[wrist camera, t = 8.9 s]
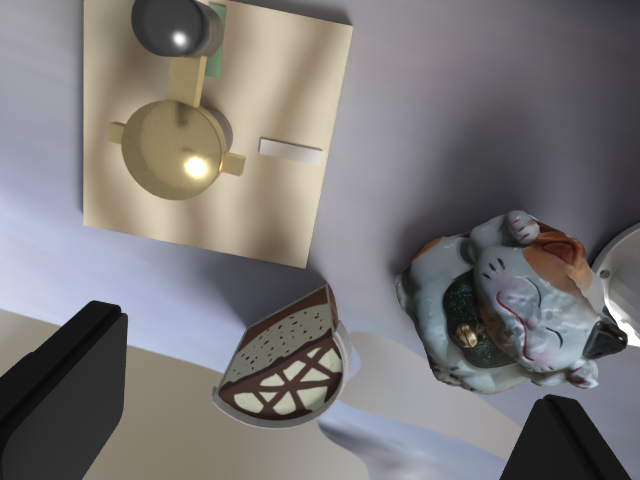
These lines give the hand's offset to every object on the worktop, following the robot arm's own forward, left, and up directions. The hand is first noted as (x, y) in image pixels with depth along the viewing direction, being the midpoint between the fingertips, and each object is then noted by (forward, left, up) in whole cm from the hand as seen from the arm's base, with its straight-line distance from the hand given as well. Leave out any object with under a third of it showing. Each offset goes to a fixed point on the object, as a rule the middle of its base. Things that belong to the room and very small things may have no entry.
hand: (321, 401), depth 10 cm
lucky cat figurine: (-15, +8, -30) cm, 35 cm away
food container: (0, +17, -30) cm, 35 cm away
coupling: (+11, -3, -23) cm, 25 cm away
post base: (+11, 0, -30) cm, 32 cm away
